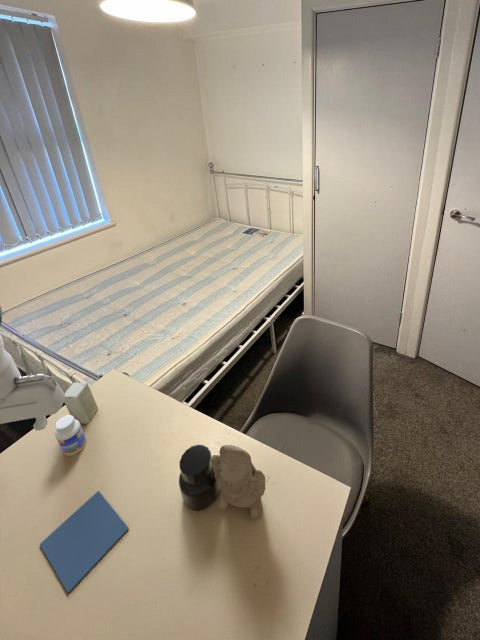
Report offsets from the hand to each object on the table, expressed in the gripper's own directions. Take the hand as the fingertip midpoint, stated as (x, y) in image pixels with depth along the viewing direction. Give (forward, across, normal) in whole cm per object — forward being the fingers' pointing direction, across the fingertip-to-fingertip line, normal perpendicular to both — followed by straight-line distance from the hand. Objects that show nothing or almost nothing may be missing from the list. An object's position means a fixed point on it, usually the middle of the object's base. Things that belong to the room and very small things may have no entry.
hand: (15, 431), depth 65 cm
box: (+24, 0, -22) cm, 33 cm away
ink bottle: (+24, -34, +6) cm, 42 cm away
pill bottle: (+24, 0, -13) cm, 28 cm away
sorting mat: (+24, -10, +9) cm, 28 cm away
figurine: (+24, -43, +11) cm, 50 cm away
